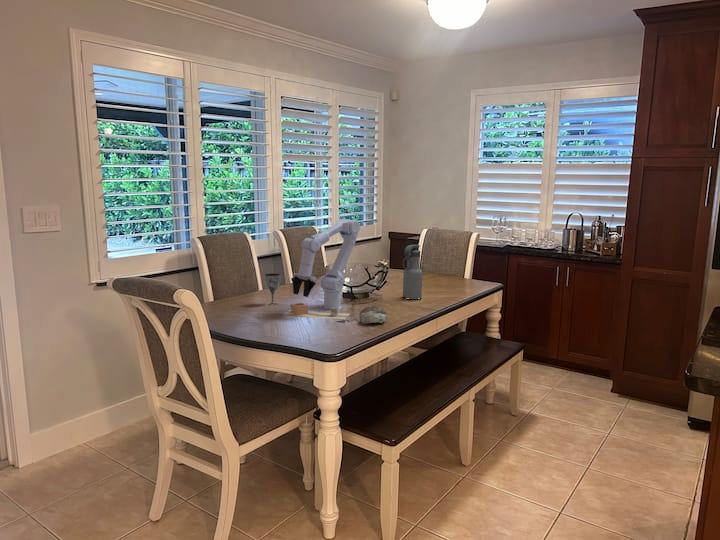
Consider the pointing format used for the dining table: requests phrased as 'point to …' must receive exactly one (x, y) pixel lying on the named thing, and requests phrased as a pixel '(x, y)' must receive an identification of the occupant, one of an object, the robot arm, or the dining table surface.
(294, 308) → the collar
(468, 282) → the dining table surface
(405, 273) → the water bottle
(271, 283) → the wine glass
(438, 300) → the dining table surface
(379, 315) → the grey rounded lump
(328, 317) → the board
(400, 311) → the dining table surface
